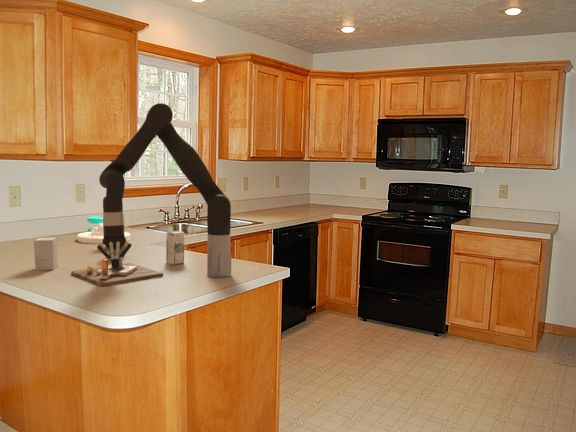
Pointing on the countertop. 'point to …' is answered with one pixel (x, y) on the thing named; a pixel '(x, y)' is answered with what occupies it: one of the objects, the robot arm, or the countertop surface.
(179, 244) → the syrup box
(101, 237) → the cake
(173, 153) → the robot arm
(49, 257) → the supplement box
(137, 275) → the post board
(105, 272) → the square frame with handle
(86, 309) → the countertop surface
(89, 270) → the gold rounded piece
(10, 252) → the countertop surface
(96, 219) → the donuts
